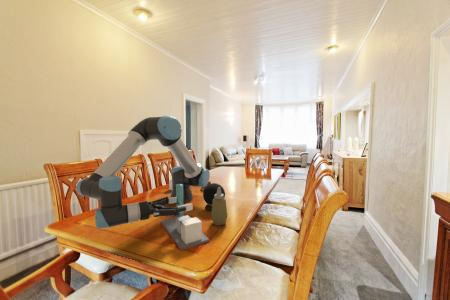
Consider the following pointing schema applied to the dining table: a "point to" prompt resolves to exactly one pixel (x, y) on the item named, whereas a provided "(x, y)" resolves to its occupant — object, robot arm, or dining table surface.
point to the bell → (205, 186)
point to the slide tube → (179, 197)
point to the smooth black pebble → (211, 194)
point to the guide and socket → (185, 231)
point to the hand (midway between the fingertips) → (186, 202)
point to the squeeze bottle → (219, 208)
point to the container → (170, 184)
